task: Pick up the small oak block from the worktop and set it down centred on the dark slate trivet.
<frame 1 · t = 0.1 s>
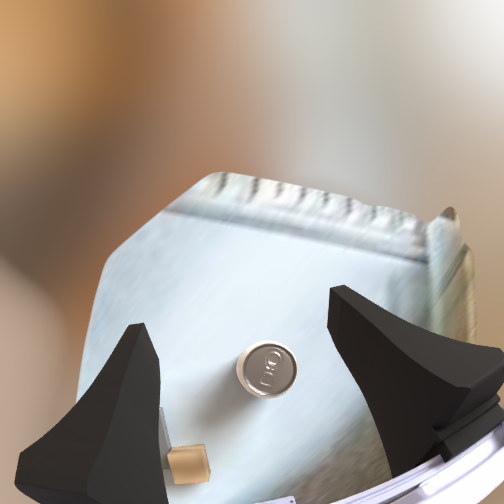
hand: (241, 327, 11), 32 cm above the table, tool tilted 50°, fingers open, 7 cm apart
slate base: (139, 438, 35), on the table
can: (259, 368, 41), on the table
oak block: (191, 459, 35), on the table
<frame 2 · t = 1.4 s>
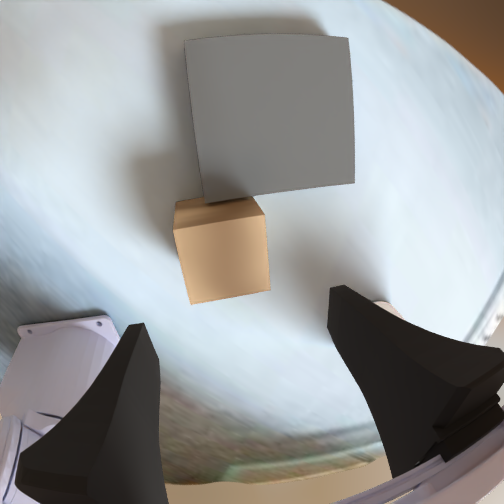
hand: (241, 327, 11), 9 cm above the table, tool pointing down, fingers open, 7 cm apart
slate base: (269, 111, 17), on the table
oak block: (216, 228, 20), on the table
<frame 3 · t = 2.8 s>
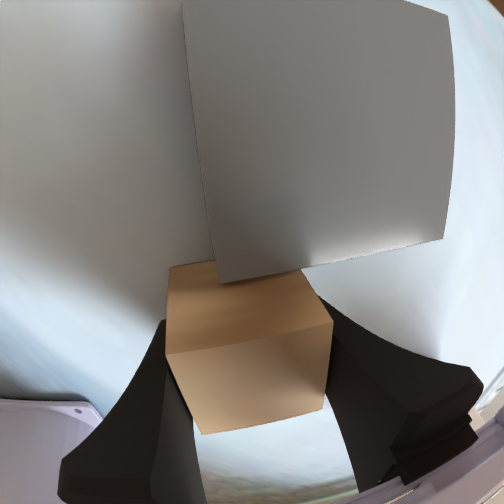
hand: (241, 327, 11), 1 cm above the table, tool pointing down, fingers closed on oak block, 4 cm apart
slate base: (326, 119, 10), on the table
can: (406, 386, 20), on the table
oak block: (235, 304, 13), on the table, touching gripper
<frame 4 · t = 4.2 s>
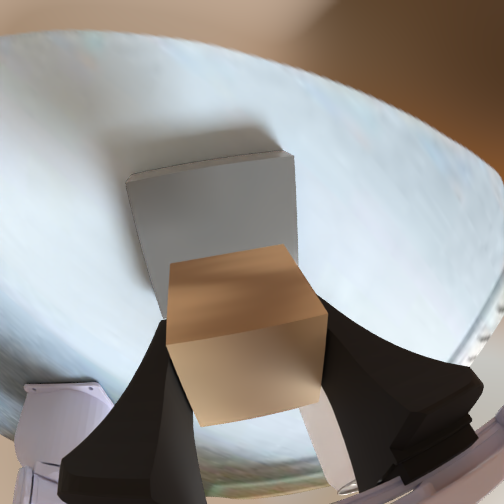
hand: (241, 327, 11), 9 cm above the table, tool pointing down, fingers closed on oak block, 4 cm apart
slate base: (217, 230, 19), on the table
can: (323, 384, 29), on the table
oak block: (234, 300, 13), point 7 cm above the table, touching gripper
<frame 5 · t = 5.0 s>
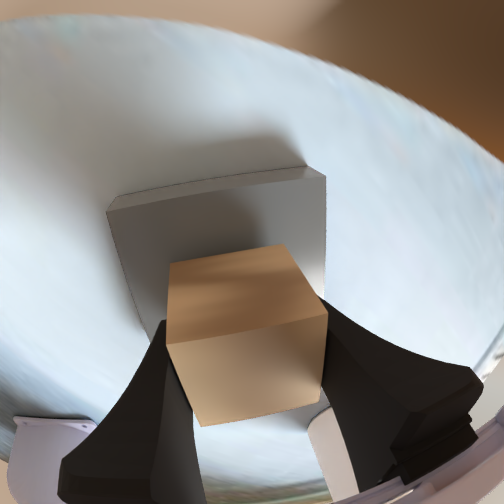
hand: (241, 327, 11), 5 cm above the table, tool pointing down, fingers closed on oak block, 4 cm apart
slate base: (225, 265, 16), on the table
can: (336, 415, 26), on the table
oak block: (234, 299, 13), point 3 cm above the table, touching gripper
when the fingers open (5 cm above the table, at t = 5.5 s): oak block stays where it is, resting on slate base.
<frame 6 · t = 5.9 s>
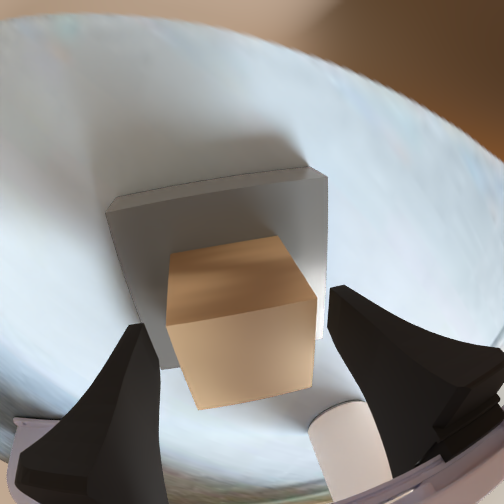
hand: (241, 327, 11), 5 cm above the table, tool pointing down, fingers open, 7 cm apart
slate base: (226, 266, 15), on the table
can: (337, 416, 26), on the table
oak block: (231, 289, 14), point 2 cm above the table, touching slate base
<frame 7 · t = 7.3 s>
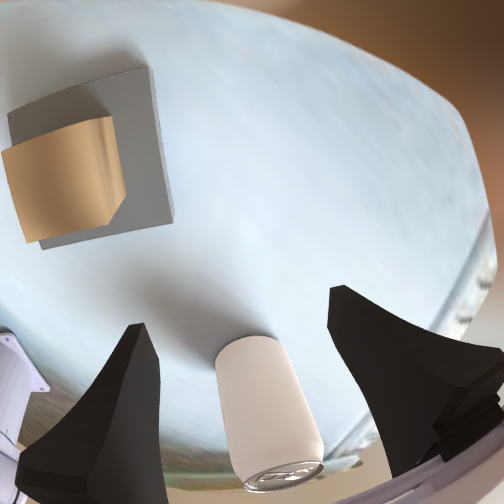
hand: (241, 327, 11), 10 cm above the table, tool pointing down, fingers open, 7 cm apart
slate base: (92, 158, 16), on the table
can: (249, 357, 27), on the table
oak block: (82, 164, 14), point 2 cm above the table, touching slate base
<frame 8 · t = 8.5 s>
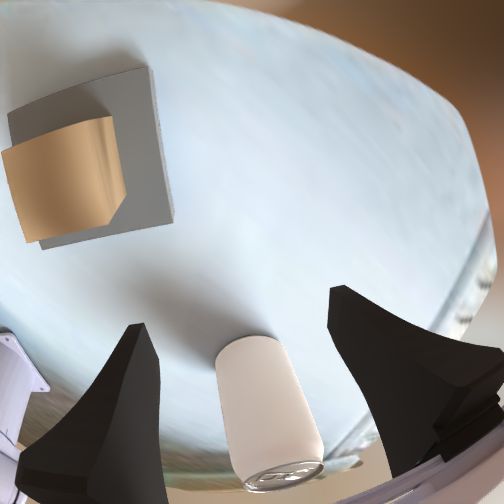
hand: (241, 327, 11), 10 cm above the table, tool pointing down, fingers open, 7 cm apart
slate base: (92, 158, 16), on the table
can: (249, 357, 27), on the table
oak block: (82, 164, 14), point 2 cm above the table, touching slate base
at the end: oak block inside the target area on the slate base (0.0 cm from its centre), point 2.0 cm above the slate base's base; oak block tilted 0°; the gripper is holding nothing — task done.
